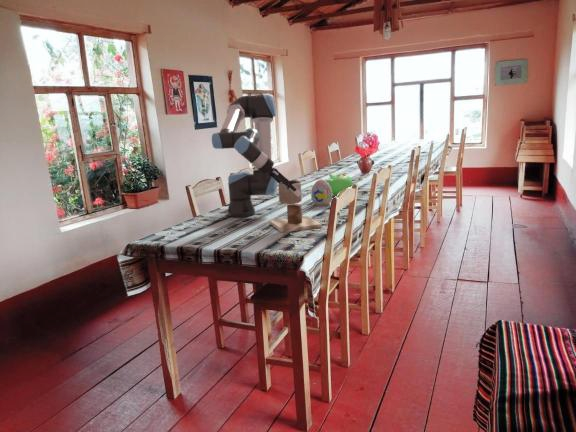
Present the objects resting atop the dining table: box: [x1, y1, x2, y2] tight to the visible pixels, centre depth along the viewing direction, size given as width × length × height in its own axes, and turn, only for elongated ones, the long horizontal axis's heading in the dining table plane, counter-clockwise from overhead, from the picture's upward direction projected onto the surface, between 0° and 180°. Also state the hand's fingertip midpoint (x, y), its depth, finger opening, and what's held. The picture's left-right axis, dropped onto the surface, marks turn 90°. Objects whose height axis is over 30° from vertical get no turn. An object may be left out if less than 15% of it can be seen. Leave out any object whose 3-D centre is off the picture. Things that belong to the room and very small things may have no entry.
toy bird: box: [324, 172, 355, 197], centre depth 290 cm, size 18×17×15 cm
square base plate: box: [269, 203, 323, 233], centre depth 223 cm, size 20×20×10 cm
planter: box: [278, 180, 303, 205], centre depth 220 cm, size 11×11×10 cm
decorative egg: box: [310, 179, 333, 207], centre depth 268 cm, size 12×12×15 cm
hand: (295, 192), depth 221 cm, fingers closed on planter, 11 cm apart
